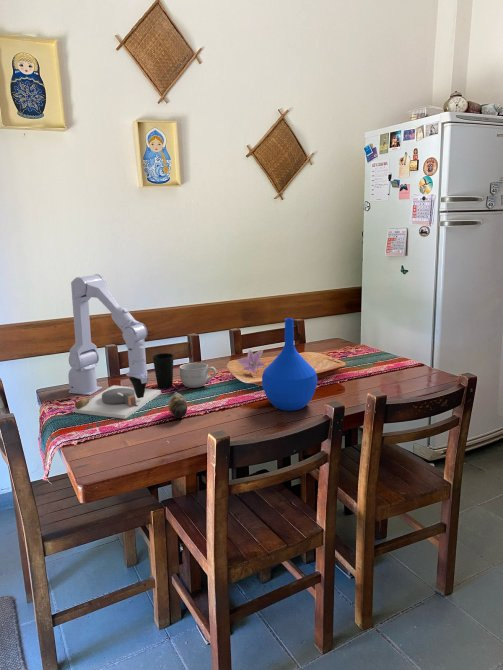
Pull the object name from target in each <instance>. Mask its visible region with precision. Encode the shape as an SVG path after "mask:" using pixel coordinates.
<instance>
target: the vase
mask: <svg viewBox="0 0 503 670" xmlns="http://www.w3.org/2000/svg"><path fill="white" fill-rule="evenodd" d="M294 329H295V328H294V318H292V317H287V318H284V344H283V345H284V346H283V348H282V350H281V351H280V352H279V353H278V355H277V356H276V357H275V358H274V359H273V360H272V361H271V362H270V363H269V364H268V366H267V367H265V368H264V369H263V372H262V377H261V385H262V389H263V391H264V394H265V396H266V398H267V399H268V401H269V403H271V405H272V406H274V407H275V408H276V409H278V410H281V411H288V412H293V411H298V410H302V409H303V408H304V407H306V406H307V405H308V404H309V403H310V402H311V400H312V398H313V397H314V395H315V392H316V389H317V385H318V376H317V371H316V370H315V368H314V367H312V366H311V365H310V363H309V362H307V361H306V360H305V358H304V357H303V356H302V355H301V354H300V353H299V352H298V351H297V349H296V347H295V342H294V341H295V338H294V337H295V335H294V334H295V333H294Z"/></svg>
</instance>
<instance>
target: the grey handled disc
mask: <svg viewBox="0 0 503 670" xmlns="http://www.w3.org/2000/svg"><path fill="white" fill-rule="evenodd" d="M102 401H103V402H104V403H106V404H122V403H126V404H128V405H129V406H134V405H136V398H135V394H134V390H132V389H128V388H117V389H111V390H108V391H106V392H104V393H103V394H102Z"/></svg>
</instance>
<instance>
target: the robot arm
mask: <svg viewBox="0 0 503 670" xmlns="http://www.w3.org/2000/svg"><path fill="white" fill-rule="evenodd" d="M70 284H71V285H70V286H71V300H72V313H73V314H72V315H73V324H74V325H73V326H74V327H73V328H74V340H75V343H74V344H73V345H72V346H71V347H70V349H69V356H68V364H69V366H70V369H69V371H68V374H67V375H68V376H67V377H68V386H69V391H68V393H69V394H77V395H86V396H87V395H88V396H91V395H92V394H94V393H96V392H99V391H100V390H101V389H103V386H99V385H98V382H97V381H98V380H97V372H96V367H97V366H98V365H97V364H98V363H99V361H100V354H99V352H98V348H97V347H98V346H97V345H96V344H95V343H93V342H92V337H91V336H92V335H91V322H90V307H89V306H90V305H89V301H90V300H91V298H95V299H98V300H99V302H101V303H102V305H103V306H104V307H106V309H107V310H108V311H109V312H110V313H111V315H110V316H111V319H112V321H113V322H114V323H115V324H116V326H117V327H118V328H119V330H120V331H121V332H122V335H121V336H122V339H123V341H124V342H125V343H124V344H125V347H126V348H127V357H128V359H127V360H128V368H129V371H128V372H125V375H126V377H128V379H129V381H130V382H131V385H132V387H134V390H135V394H136V396H137V398H142V397H144V392H145V389H146V387H147V384H148V382H149V378H148V370H147V360H146V359H147V358H146V346H145V344H146V342H145V339H146V338H147V337H148V333H149V332H148V329H147V326H146V325H145V324H144V323H143V322H140V321H138V320H136V318H135V317H134V316H132V314H131V313H130V311H129V310H128V309H127V307H124V306H121V305H119V304H118V302H117V301H116V299H115V298H114V296H113V295H112V293H111V292H110V291H109V289H108V288H107V285H108V284H107V281H106V280H105V279H104V278H103V276H102V275H101V274H99V273H97V274H96V273H95V274H92V275H87V276H78V277H75V278H74V279H73V280H72V281H70Z"/></svg>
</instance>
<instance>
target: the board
mask: <svg viewBox="0 0 503 670" xmlns="http://www.w3.org/2000/svg"><path fill="white" fill-rule="evenodd" d="M117 388H128V389H132V390H134V387H133V386H131V387H130V386H121V385H111V386H110V387H108V388H106V389H104V390H103V391H102V392H99V393H97V394H95V397H94V398H92V399H90V400H89V403H88V404H87V405H85V406H83V407H82V408H80V409H77V408H76V407H75V406H74V407H73V408H72V413H74V412H75V413H74V414H82V415H83V414H84V415H92V416H99V417H106V418H109V417H110V418H115V419H116V418H117V419H124V420H125V419H127V418H129V417H130V416H131V415H133V414H134V413H135V412H137V411H138V410H140V409H141V408H143V407H145V405H147V404H148V403H150V402H151V401H153V400H154V399H155V398H156V397H159V396H160V395H161V394H162V389H153V388H145V392H144V397H142V398H137V396H136V394H135V390H134V394H135V398H136V405H134V406H129V405H128V404H126V403H122V404H106V403H104V402H103V401H102V394H103V393H104V392H106V391H108V390H111V389H117ZM149 401H150V402H149ZM146 403H147V404H146ZM132 413H133V414H132Z"/></svg>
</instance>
